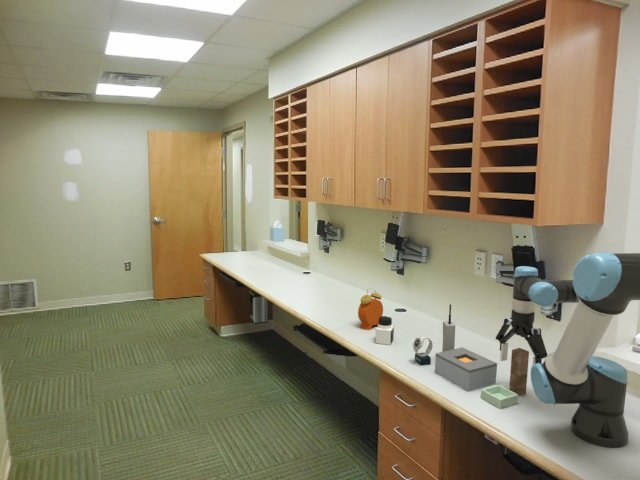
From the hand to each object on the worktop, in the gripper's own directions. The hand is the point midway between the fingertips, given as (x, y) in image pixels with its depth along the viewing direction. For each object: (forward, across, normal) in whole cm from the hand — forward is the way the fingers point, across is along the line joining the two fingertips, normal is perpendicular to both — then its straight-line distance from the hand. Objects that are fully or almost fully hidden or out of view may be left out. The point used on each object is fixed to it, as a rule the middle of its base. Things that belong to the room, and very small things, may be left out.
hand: (518, 367), depth 171 cm
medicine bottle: (+11, +64, +13) cm, 66 cm away
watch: (+10, +37, +13) cm, 40 cm away
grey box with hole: (+10, +18, +8) cm, 22 cm away
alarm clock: (+11, +84, +7) cm, 86 cm away
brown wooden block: (+10, 0, 0) cm, 10 cm away
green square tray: (+10, -1, +11) cm, 14 cm away
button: (+5, +18, +8) cm, 20 cm away
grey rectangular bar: (+10, +32, +3) cm, 34 cm away
